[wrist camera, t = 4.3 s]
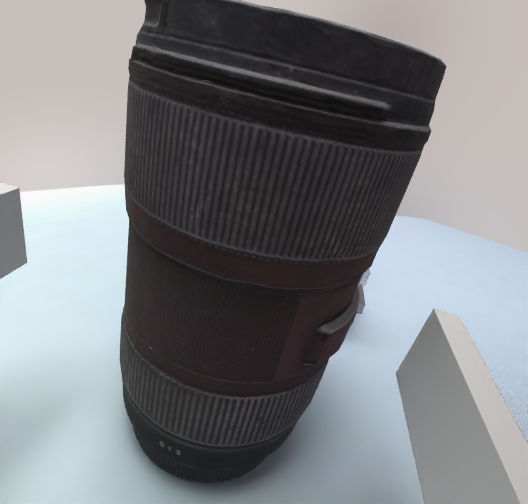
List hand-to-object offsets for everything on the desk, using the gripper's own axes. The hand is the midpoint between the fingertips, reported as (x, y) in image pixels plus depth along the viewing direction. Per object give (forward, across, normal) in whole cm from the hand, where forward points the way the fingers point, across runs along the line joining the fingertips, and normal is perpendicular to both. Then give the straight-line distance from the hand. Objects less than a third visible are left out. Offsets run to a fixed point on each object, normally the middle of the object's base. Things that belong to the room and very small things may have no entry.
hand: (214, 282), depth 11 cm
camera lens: (+2, +1, -8) cm, 8 cm away
